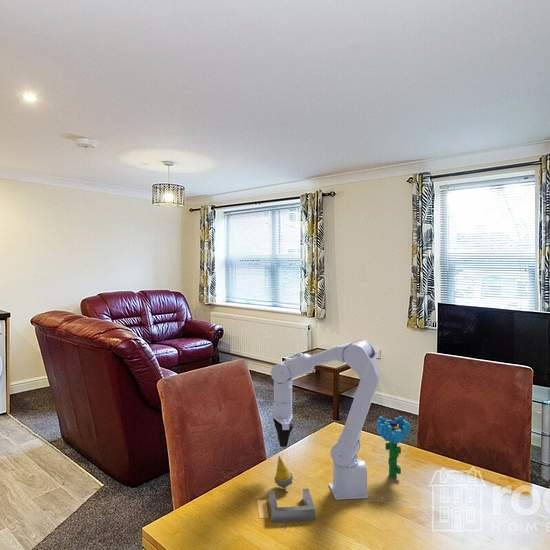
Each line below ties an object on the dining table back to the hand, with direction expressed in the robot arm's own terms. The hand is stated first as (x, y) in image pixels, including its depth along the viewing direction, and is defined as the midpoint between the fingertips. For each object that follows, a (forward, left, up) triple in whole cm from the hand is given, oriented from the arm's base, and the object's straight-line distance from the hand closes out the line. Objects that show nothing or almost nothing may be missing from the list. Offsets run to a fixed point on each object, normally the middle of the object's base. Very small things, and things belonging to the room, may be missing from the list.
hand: (282, 443), depth 125 cm
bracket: (0, +17, -10) cm, 20 cm away
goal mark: (+8, +17, -10) cm, 21 cm away
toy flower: (-34, +4, -10) cm, 36 cm away
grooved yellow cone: (0, +8, -10) cm, 13 cm away
